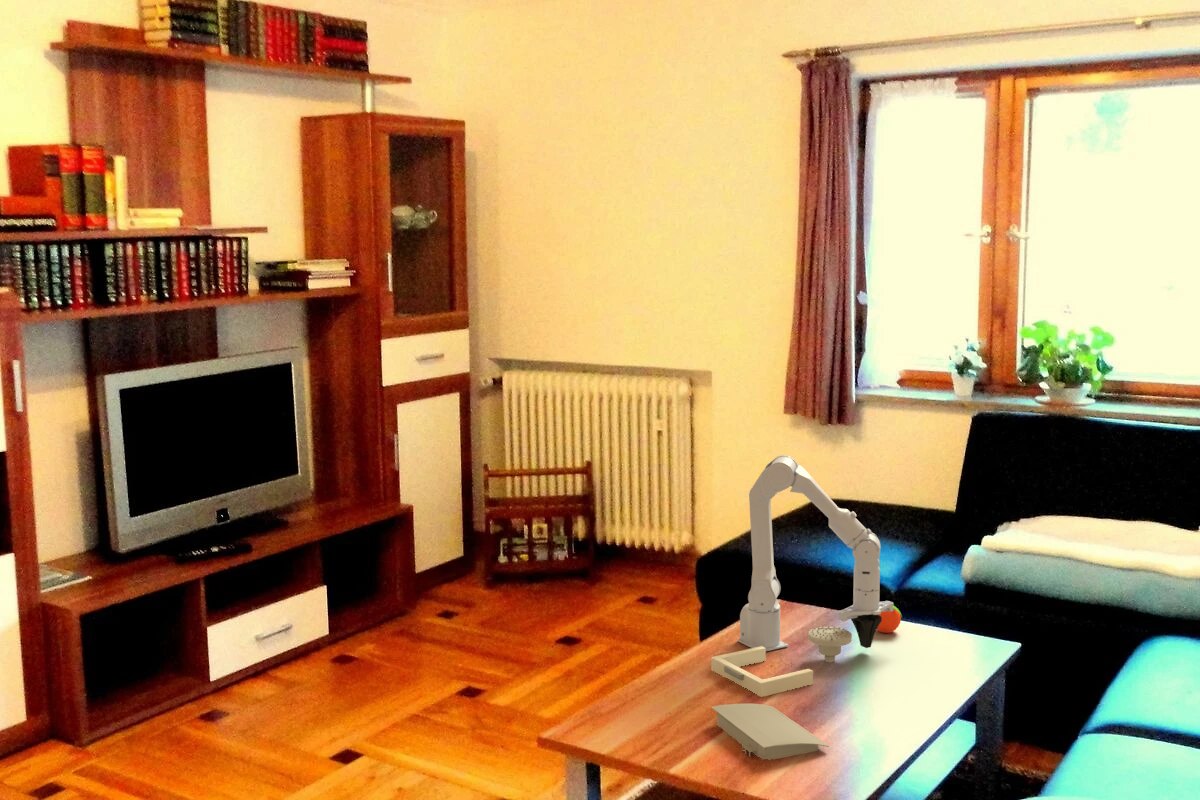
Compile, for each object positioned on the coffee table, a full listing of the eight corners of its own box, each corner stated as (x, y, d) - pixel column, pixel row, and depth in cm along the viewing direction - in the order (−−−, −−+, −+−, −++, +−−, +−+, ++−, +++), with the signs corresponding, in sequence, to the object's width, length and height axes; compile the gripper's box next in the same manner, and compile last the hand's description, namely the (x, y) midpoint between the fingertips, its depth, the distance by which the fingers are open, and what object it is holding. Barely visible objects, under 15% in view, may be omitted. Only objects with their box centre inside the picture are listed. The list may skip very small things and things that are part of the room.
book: (758, 772, 218) (758, 751, 217) (700, 725, 239) (700, 706, 238) (832, 757, 224) (832, 737, 223) (769, 712, 245) (769, 693, 244)
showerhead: (810, 636, 266) (806, 622, 276) (809, 668, 267) (806, 653, 277) (854, 637, 265) (849, 622, 275) (853, 669, 266) (849, 653, 276)
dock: (708, 671, 266) (708, 657, 266) (761, 659, 273) (761, 646, 273) (757, 698, 251) (757, 684, 250) (812, 684, 258) (813, 670, 257)
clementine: (910, 632, 289) (910, 603, 288) (893, 640, 284) (894, 610, 283) (881, 625, 295) (881, 596, 294) (864, 632, 290) (865, 603, 289)
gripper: (853, 597, 267) (852, 657, 269) (903, 587, 274) (902, 645, 276) (832, 589, 273) (831, 648, 275) (881, 579, 280) (880, 636, 282)
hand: (865, 646), depth 276 cm, fingers closed
